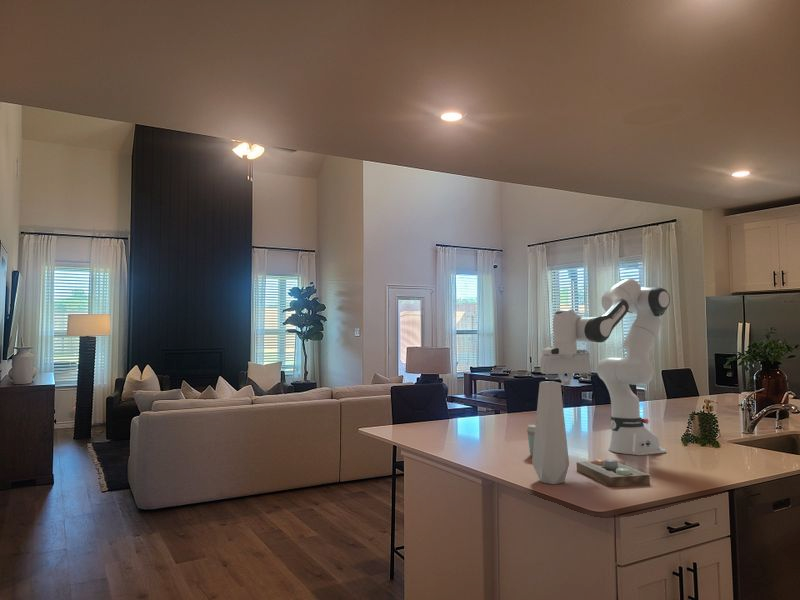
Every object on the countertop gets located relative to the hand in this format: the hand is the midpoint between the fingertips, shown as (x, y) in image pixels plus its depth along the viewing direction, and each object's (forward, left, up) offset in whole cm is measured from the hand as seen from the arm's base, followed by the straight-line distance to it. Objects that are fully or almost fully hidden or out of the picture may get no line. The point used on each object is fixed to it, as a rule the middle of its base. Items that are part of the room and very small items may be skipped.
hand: (566, 385), depth 218 cm
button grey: (-2, +27, -27) cm, 38 cm away
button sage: (-2, +34, -28) cm, 44 cm away
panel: (-2, +27, -29) cm, 40 cm away
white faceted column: (+20, +28, -29) cm, 45 cm away
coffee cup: (+8, -10, -29) cm, 32 cm away
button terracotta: (-2, +20, -28) cm, 34 cm away
